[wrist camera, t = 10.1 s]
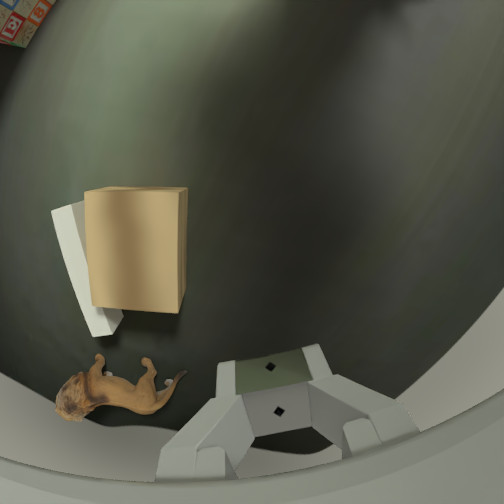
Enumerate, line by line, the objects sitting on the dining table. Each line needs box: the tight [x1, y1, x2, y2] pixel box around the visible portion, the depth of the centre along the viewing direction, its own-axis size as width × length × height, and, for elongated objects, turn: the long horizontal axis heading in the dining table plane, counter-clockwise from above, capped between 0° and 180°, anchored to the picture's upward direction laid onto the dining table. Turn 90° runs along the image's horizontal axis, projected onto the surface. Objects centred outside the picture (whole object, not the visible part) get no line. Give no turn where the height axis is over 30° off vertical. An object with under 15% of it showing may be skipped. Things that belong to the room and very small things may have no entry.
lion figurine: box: [55, 354, 187, 421], centre depth 29 cm, size 15×5×9 cm, turn 95°
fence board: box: [51, 200, 124, 337], centre depth 28 cm, size 2×13×4 cm, turn 11°
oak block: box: [85, 187, 188, 313], centre depth 27 cm, size 8×10×6 cm
